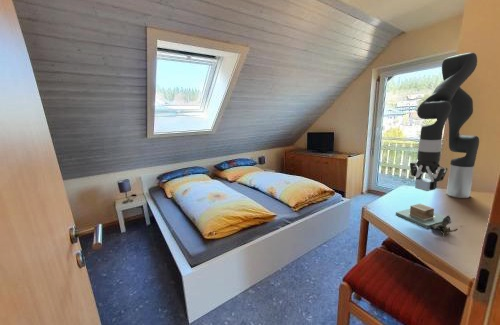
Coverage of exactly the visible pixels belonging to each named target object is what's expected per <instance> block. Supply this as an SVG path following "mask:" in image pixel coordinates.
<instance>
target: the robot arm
mask: <svg viewBox="0 0 500 325" xmlns="http://www.w3.org/2000/svg"><path fill="white" fill-rule="evenodd" d="M477 65H478V56H477V54H476V53H475V52H466V53H461V54H456V55H452V56H449V57H446V58H444V59H443V61H442V64H441V74H442V80H443V81H442V82H441V83H439V84H438V85H437V86H436V88H435V89H434V91H433V92H432V94H431V95H430V96H428V97H427V98H425V100H423V101H422V102H421V103H420V104H419V106H418V107H417V110H416V114H417V116H418V118H419V119H421V120H436V121H435V122H434V123H432V124H424V125H422V126H421V129H420V138H419V143H418V147H417V148H418V150H417V158H416V159H417V161H416V162H415V161H414V162H410V163H409V166H410V173H411V174H410V175H411V176H413V177H415V180H416V179H421V178H423V175H424V174H425V173H426V174H428V177H429V179H431V182H430V190H431V191H435V190H436V189H437V186H438V185H437V184H438V183H439V182H442V181H444V179H445V176H446V175H447V171H448V167H442V166H440V161H441V154H442V153H441V152H442V147H443V146H442V142H443V141H442V138H443V132H444V127H445V125H446V123H447V120H448V148H449V151H451V152H453V153H462V154H465V155H464V156H462V157H457V158H456V157H455V158H452V159H451V160H450V162H449V163H450V164H449V172H448V179H447V180H448V181H447V187H446V195H447V196H449V197H453V198H456V199H457V198H459V199H467V198H470V196H471V190H472V185H473V177H474V176H473V175H474V170H475V163H476V159H477V154H478V150H479V145H480V138H479V136H478V135H468V134H467V135H466V134H465V135H462V134H460V130H461V129H462V127H463V126H464V124H466V123H467V121H468V120H469V119H470V118H471V117H472V115H473V113H474V101H473V98H472V97H471V95H470V94H468V92H466V91H465V90H464V89H463V88H462V87H461V86H462V85H463V84H464V83H465V82H466V81H467V80H468V78H469V77H471V75H472V74H473V73H474V72H475V70H476V68H477ZM414 184H415V185H416V182H415V183H414ZM434 189H435V190H434Z"/></svg>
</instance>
